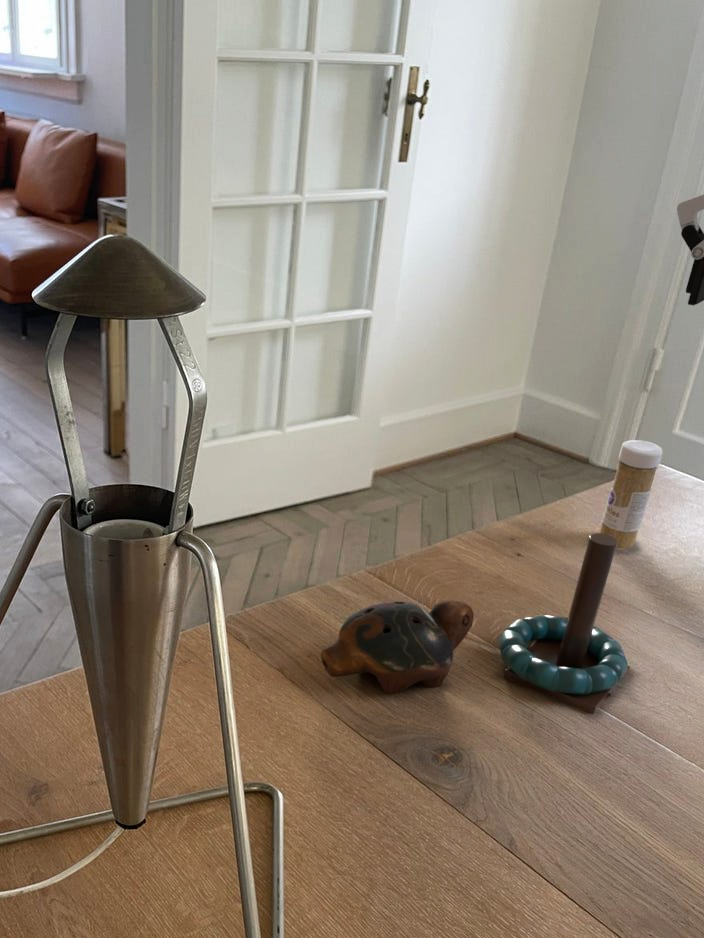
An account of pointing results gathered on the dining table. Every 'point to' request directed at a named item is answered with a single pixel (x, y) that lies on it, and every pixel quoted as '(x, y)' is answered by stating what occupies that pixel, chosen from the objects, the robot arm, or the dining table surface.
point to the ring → (556, 676)
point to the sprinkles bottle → (630, 491)
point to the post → (579, 626)
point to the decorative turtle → (400, 643)
